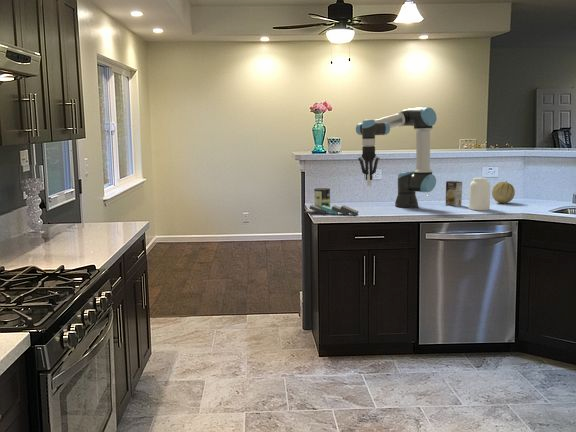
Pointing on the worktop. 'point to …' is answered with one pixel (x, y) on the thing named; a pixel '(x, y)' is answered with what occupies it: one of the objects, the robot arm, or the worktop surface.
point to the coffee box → (453, 193)
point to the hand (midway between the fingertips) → (369, 185)
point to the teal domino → (329, 209)
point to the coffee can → (322, 197)
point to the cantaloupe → (503, 192)
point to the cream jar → (479, 194)
